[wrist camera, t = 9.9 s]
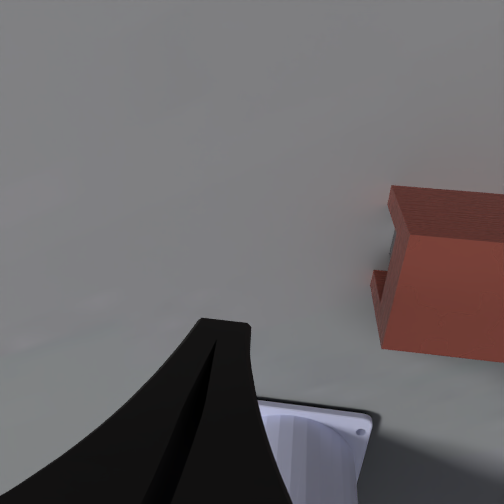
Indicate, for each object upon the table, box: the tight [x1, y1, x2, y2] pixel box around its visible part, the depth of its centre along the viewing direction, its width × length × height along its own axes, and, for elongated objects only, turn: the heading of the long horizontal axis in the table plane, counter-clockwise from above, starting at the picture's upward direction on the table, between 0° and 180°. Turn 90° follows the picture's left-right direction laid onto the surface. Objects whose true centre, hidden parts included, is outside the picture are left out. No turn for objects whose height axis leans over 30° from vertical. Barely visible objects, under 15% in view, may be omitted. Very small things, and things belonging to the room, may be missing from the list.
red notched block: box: [370, 185, 504, 363], centre depth 16 cm, size 5×7×4 cm, turn 88°
